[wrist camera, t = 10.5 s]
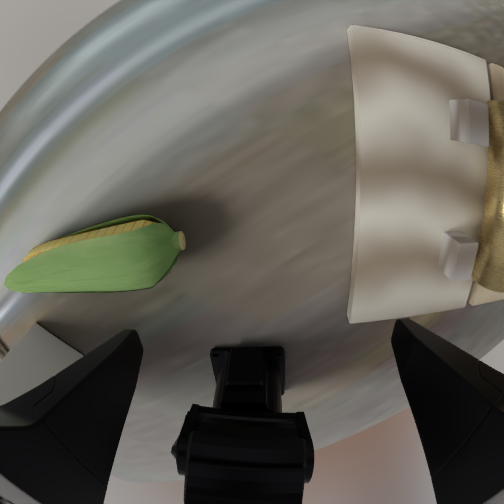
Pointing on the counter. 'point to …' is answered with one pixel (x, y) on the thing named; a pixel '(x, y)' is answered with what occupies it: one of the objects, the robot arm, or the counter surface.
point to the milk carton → (33, 362)
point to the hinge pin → (493, 208)
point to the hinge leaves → (417, 174)
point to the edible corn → (101, 258)
